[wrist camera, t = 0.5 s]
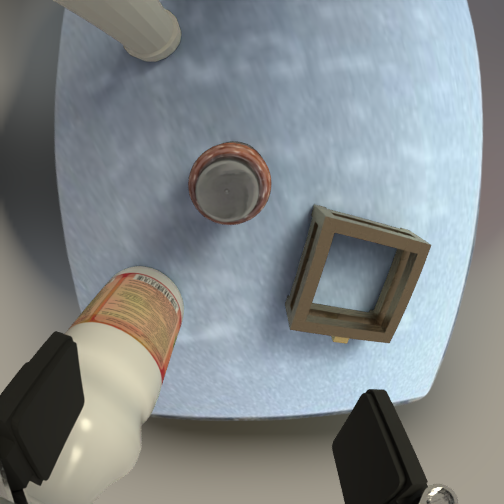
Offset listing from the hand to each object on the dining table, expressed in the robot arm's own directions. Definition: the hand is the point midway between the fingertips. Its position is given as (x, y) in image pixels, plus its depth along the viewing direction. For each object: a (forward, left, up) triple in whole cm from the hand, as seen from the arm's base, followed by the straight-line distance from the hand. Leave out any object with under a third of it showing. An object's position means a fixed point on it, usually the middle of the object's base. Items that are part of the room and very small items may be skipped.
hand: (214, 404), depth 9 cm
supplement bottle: (-4, -1, -24) cm, 25 cm away
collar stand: (+3, +13, -24) cm, 27 cm away
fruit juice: (+12, -8, -24) cm, 28 cm away
